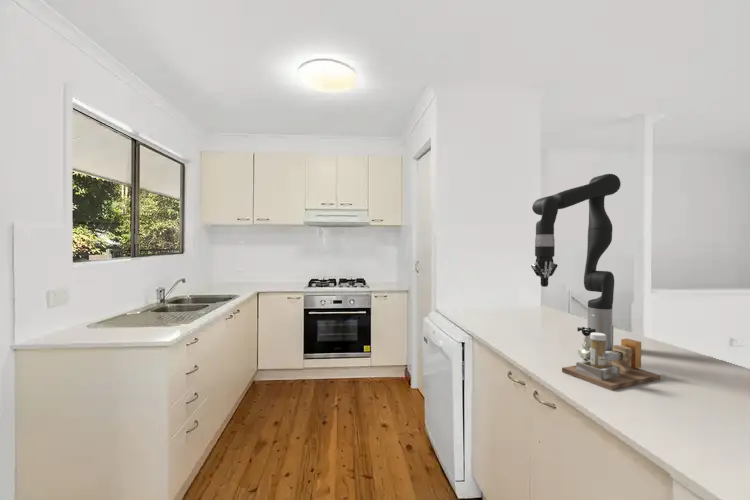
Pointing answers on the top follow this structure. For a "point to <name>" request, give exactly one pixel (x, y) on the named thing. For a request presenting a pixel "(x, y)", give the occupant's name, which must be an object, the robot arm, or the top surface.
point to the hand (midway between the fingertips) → (544, 286)
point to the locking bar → (635, 352)
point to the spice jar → (598, 350)
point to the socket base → (612, 372)
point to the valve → (585, 349)
